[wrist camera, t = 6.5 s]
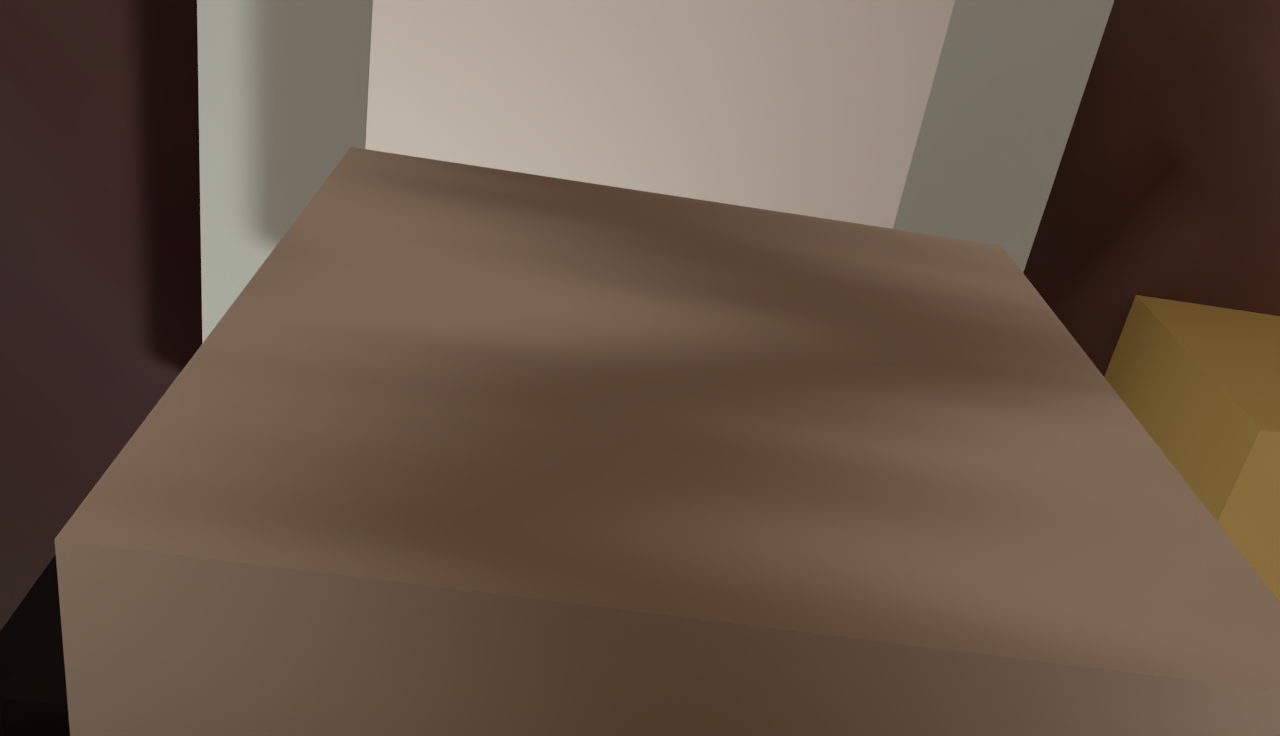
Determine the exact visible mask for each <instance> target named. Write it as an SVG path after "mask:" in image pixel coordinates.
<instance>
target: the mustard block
mask: <svg viewBox="0 0 1280 736" xmlns="http://www.w3.org/2000/svg"><path fill="white" fill-rule="evenodd" d="M1104 378H1105V379H1106V380H1107V381H1108V383H1109V384H1110V385H1111V387H1112V388H1113V389H1114V390H1115V392H1116V393H1117V394H1118V395H1119V397H1120V398H1121V399H1122V401H1123V402H1124V403H1125V404H1126V406H1127V407H1128V408H1129V410H1130V411H1131V412H1132V413H1133V415H1134V416H1135V417H1136V419H1137V420H1138V421H1139V422H1140V424H1141V425H1142V426H1143V428H1144V429H1145V430H1146V431H1147V433H1148V434H1149V435H1150V437H1151V438H1152V439H1153V440H1154V442H1155V443H1156V444H1157V446H1158V447H1159V448H1160V449H1161V451H1162V452H1163V453H1164V454H1165V456H1166V457H1167V458H1168V460H1169V461H1170V462H1171V463H1172V465H1173V466H1174V467H1175V469H1176V470H1177V471H1178V472H1179V474H1180V475H1181V476H1182V478H1183V479H1184V480H1185V481H1186V483H1187V484H1188V485H1189V487H1190V488H1191V489H1192V490H1193V492H1194V493H1195V494H1196V496H1197V497H1198V498H1199V499H1200V501H1201V502H1202V503H1203V504H1204V506H1205V507H1206V508H1207V510H1208V511H1209V512H1210V513H1211V515H1212V516H1213V517H1214V519H1215V520H1216V521H1217V522H1218V524H1219V525H1220V526H1221V528H1222V529H1223V530H1224V531H1225V533H1226V534H1227V535H1228V537H1229V538H1230V539H1231V540H1232V542H1233V543H1234V544H1235V546H1236V547H1237V548H1238V549H1239V551H1240V552H1241V553H1242V555H1243V556H1244V557H1245V558H1246V560H1247V561H1248V562H1249V563H1250V565H1251V566H1252V567H1253V569H1254V570H1255V571H1256V572H1257V574H1258V575H1259V576H1260V578H1261V579H1262V580H1263V581H1264V583H1265V584H1266V585H1267V587H1268V588H1269V589H1270V590H1271V592H1272V593H1273V594H1274V596H1275V597H1276V598H1277V599H1278V601H1279V602H1280V316H1276V315H1269V314H1262V313H1255V312H1249V311H1242V310H1235V309H1228V308H1222V307H1215V306H1208V305H1201V304H1194V303H1188V302H1181V301H1174V300H1167V299H1161V298H1154V297H1147V296H1140V295H1136V296H1135V298H1134V301H1133V304H1132V306H1131V309H1130V311H1129V314H1128V317H1127V319H1126V322H1125V324H1124V327H1123V329H1122V332H1121V335H1120V337H1119V340H1118V342H1117V345H1116V348H1115V350H1114V353H1113V355H1112V358H1111V361H1110V363H1109V366H1108V368H1107V371H1106V373H1105V376H1104Z"/></svg>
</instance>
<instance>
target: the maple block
mask: <svg viewBox="0 0 1280 736" xmlns="http://www.w3.org/2000/svg"><path fill="white" fill-rule="evenodd" d="M55 552H56V564H57V577H58V589H59V602H60V614H61V627H62V639H63V652H64V664H65V677H66V690H67V702H68V715H69V727H70V736H1280V602H1279V601H1278V599H1277V598H1276V597H1275V596H1274V594H1273V593H1272V592H1271V590H1270V589H1269V588H1268V587H1267V585H1266V584H1265V583H1264V581H1263V580H1262V579H1261V578H1260V576H1259V575H1258V574H1257V572H1256V571H1255V570H1254V569H1253V567H1252V566H1251V565H1250V563H1249V562H1248V561H1247V560H1246V558H1245V557H1244V556H1243V555H1242V553H1241V552H1240V551H1239V549H1238V548H1237V547H1236V546H1235V544H1234V543H1233V542H1232V540H1231V539H1230V538H1229V537H1228V535H1227V534H1226V533H1225V531H1224V530H1223V529H1222V528H1221V526H1220V525H1219V524H1218V522H1217V521H1216V520H1215V519H1214V517H1213V516H1212V515H1211V513H1210V512H1209V511H1208V510H1207V508H1206V507H1205V506H1204V504H1203V503H1202V502H1201V501H1200V499H1199V498H1198V497H1197V496H1196V494H1195V493H1194V492H1193V490H1192V489H1191V488H1190V487H1189V485H1188V484H1187V483H1186V481H1185V480H1184V479H1183V478H1182V476H1181V475H1180V474H1179V472H1178V471H1177V470H1176V469H1175V467H1174V466H1173V465H1172V463H1171V462H1170V461H1169V460H1168V458H1167V457H1166V456H1165V454H1164V453H1163V452H1162V451H1161V449H1160V448H1159V447H1158V446H1157V444H1156V443H1155V442H1154V440H1153V439H1152V438H1151V437H1150V435H1149V434H1148V433H1147V431H1146V430H1145V429H1144V428H1143V426H1142V425H1141V424H1140V422H1139V421H1138V420H1137V419H1136V417H1135V416H1134V415H1133V413H1132V412H1131V411H1130V410H1129V408H1128V407H1127V406H1126V404H1125V403H1124V402H1123V401H1122V399H1121V398H1120V397H1119V395H1118V394H1117V393H1116V392H1115V390H1114V389H1113V388H1112V387H1111V385H1110V384H1109V383H1108V381H1107V380H1106V379H1105V378H1104V376H1103V375H1102V374H1101V372H1100V371H1099V370H1098V369H1097V367H1096V366H1095V365H1094V363H1093V362H1092V361H1091V360H1090V358H1089V357H1088V356H1087V354H1086V353H1085V352H1084V351H1083V349H1082V348H1081V347H1080V345H1079V344H1078V343H1077V342H1076V340H1075V339H1074V338H1073V336H1072V335H1071V334H1070V333H1069V331H1068V330H1067V329H1066V328H1065V326H1064V325H1063V324H1062V322H1061V321H1060V320H1059V319H1058V317H1057V316H1056V315H1055V313H1054V312H1053V311H1052V310H1051V308H1050V307H1049V306H1048V304H1047V303H1046V302H1045V301H1044V299H1043V298H1042V297H1041V295H1040V294H1039V293H1038V292H1037V290H1036V289H1035V288H1034V286H1033V285H1032V284H1031V283H1030V281H1029V280H1028V279H1027V278H1026V276H1025V275H1024V274H1023V272H1022V271H1021V270H1020V269H1019V267H1018V266H1017V265H1016V263H1015V262H1014V261H1013V260H1012V258H1011V257H1010V256H1009V254H1008V253H1007V252H1006V251H1005V249H1004V248H1003V247H1002V245H997V244H990V243H984V242H977V241H970V240H964V239H957V238H950V237H944V236H937V235H931V234H924V233H917V232H911V231H904V230H897V229H891V228H884V227H878V226H871V225H864V224H858V223H851V222H844V221H838V220H831V219H825V218H818V217H811V216H805V215H798V214H791V213H785V212H778V211H772V210H765V209H758V208H752V207H745V206H739V205H732V204H725V203H719V202H712V201H705V200H699V199H692V198H686V197H679V196H672V195H666V194H659V193H652V192H646V191H639V190H633V189H626V188H619V187H613V186H606V185H599V184H593V183H586V182H580V181H573V180H566V179H560V178H553V177H546V176H540V175H533V174H527V173H520V172H513V171H507V170H500V169H493V168H487V167H480V166H474V165H467V164H460V163H454V162H447V161H440V160H434V159H427V158H421V157H414V156H407V155H401V154H394V153H387V152H381V151H374V150H368V149H361V148H354V147H351V148H350V149H349V150H348V152H347V153H346V154H345V156H344V157H343V158H342V159H341V161H340V162H339V163H338V165H337V166H336V167H335V169H334V170H333V171H332V173H331V174H330V175H329V177H328V178H327V179H326V181H325V182H324V183H323V185H322V186H321V187H320V189H319V190H318V191H317V193H316V194H315V195H314V197H313V198H312V199H311V201H310V202H309V203H308V205H307V206H306V207H305V208H304V210H303V211H302V212H301V214H300V215H299V216H298V218H297V219H296V220H295V222H294V223H293V224H292V226H291V227H290V228H289V230H288V231H287V232H286V234H285V235H284V236H283V238H282V239H281V240H280V242H279V243H278V244H277V246H276V247H275V248H274V250H273V251H272V252H271V254H270V255H269V256H268V257H267V259H266V260H265V261H264V263H263V264H262V265H261V267H260V268H259V269H258V271H257V272H256V273H255V275H254V276H253V277H252V279H251V280H250V281H249V283H248V284H247V285H246V287H245V288H244V289H243V291H242V292H241V293H240V295H239V296H238V297H237V299H236V300H235V301H234V302H233V304H232V305H231V306H230V308H229V309H228V310H227V312H226V313H225V314H224V316H223V317H222V318H221V320H220V321H219V322H218V324H217V325H216V326H215V328H214V329H213V330H212V332H211V333H210V334H209V336H208V337H207V338H206V340H205V341H204V342H203V344H202V345H201V346H200V348H199V349H198V350H197V351H196V353H195V354H194V355H193V357H192V358H191V359H190V361H189V362H188V363H187V365H186V366H185V367H184V369H183V370H182V371H181V373H180V374H179V375H178V377H177V378H176V379H175V381H174V382H173V383H172V385H171V386H170V387H169V389H168V390H167V391H166V393H165V394H164V395H163V397H162V398H161V399H160V400H159V402H158V403H157V404H156V406H155V407H154V408H153V410H152V411H151V412H150V414H149V415H148V416H147V418H146V419H145V420H144V422H143V423H142V424H141V426H140V427H139V428H138V430H137V431H136V432H135V434H134V435H133V436H132V438H131V439H130V440H129V442H128V443H127V444H126V446H125V447H124V448H123V449H122V451H121V452H120V453H119V455H118V456H117V457H116V459H115V460H114V461H113V463H112V464H111V465H110V467H109V468H108V469H107V471H106V472H105V473H104V475H103V476H102V477H101V479H100V480H99V481H98V483H97V484H96V485H95V487H94V488H93V489H92V491H91V492H90V493H89V495H88V496H87V497H86V498H85V500H84V501H83V502H82V504H81V505H80V506H79V508H78V509H77V510H76V512H75V513H74V514H73V516H72V517H71V518H70V520H69V521H68V522H67V524H66V525H65V526H64V528H63V529H62V530H61V532H60V533H59V534H58V536H57V537H56V538H55Z"/></svg>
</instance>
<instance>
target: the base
mask: <svg viewBox="0 0 1280 736" xmlns="http://www.w3.org/2000/svg"><path fill="white" fill-rule="evenodd" d="M1113 3H1114V0H197V33H198V96H199V160H200V223H201V286H202V344H203V342H204V341H205V340H206V338H207V337H208V336H209V334H210V333H211V332H212V330H213V329H214V328H215V326H216V325H217V324H218V322H219V321H220V320H221V318H222V317H223V316H224V314H225V313H226V312H227V310H228V309H229V308H230V306H231V305H232V304H233V302H234V301H235V300H236V299H237V297H238V296H239V295H240V293H241V292H242V291H243V289H244V288H245V287H246V285H247V284H248V283H249V281H250V280H251V279H252V277H253V276H254V275H255V273H256V272H257V271H258V269H259V268H260V267H261V265H262V264H263V263H264V261H265V260H266V259H267V257H268V256H269V255H270V254H271V252H272V251H273V250H274V248H275V247H276V246H277V244H278V243H279V242H280V240H281V239H282V238H283V236H284V235H285V234H286V232H287V231H288V230H289V228H290V227H291V226H292V224H293V223H294V222H295V220H296V219H297V218H298V216H299V215H300V214H301V212H302V211H303V210H304V208H305V207H306V206H307V205H308V203H309V202H310V201H311V199H312V198H313V197H314V195H315V194H316V193H317V191H318V190H319V189H320V187H321V186H322V185H323V183H324V182H325V181H326V179H327V178H328V177H329V175H330V174H331V173H332V171H333V170H334V169H335V167H336V166H337V165H338V163H339V162H340V161H341V159H342V158H343V157H344V156H345V154H346V153H347V152H348V150H349V149H350V148H351V147H354V148H361V149H368V150H374V151H381V152H387V153H394V154H401V155H407V156H414V157H421V158H427V159H434V160H440V161H447V162H454V163H460V164H467V165H474V166H480V167H487V168H493V169H500V170H507V171H513V172H520V173H527V174H533V175H540V176H546V177H553V178H560V179H566V180H573V181H580V182H586V183H593V184H599V185H606V186H613V187H619V188H626V189H633V190H639V191H646V192H652V193H659V194H666V195H672V196H679V197H686V198H692V199H699V200H705V201H712V202H719V203H725V204H732V205H739V206H745V207H752V208H758V209H765V210H772V211H778V212H785V213H791V214H798V215H805V216H811V217H818V218H825V219H831V220H838V221H844V222H851V223H858V224H864V225H871V226H878V227H884V228H891V229H897V230H904V231H911V232H917V233H924V234H931V235H937V236H944V237H950V238H957V239H964V240H970V241H977V242H984V243H990V244H997V245H1002V247H1003V248H1004V249H1005V251H1006V252H1007V253H1008V254H1009V256H1010V257H1011V258H1012V260H1013V261H1014V262H1015V263H1016V265H1017V266H1018V267H1019V269H1020V270H1021V271H1022V272H1024V269H1025V266H1026V263H1027V260H1028V257H1029V254H1030V251H1031V248H1032V245H1033V242H1034V239H1035V236H1036V233H1037V230H1038V227H1039V224H1040V221H1041V218H1042V215H1043V212H1044V209H1045V206H1046V203H1047V200H1048V197H1049V194H1050V191H1051V188H1052V185H1053V182H1054V179H1055V176H1056V173H1057V170H1058V167H1059V164H1060V161H1061V158H1062V155H1063V152H1064V149H1065V146H1066V144H1067V141H1068V138H1069V135H1070V132H1071V129H1072V126H1073V123H1074V120H1075V117H1076V114H1077V111H1078V108H1079V105H1080V102H1081V99H1082V96H1083V93H1084V90H1085V87H1086V84H1087V81H1088V78H1089V75H1090V72H1091V69H1092V66H1093V63H1094V60H1095V57H1096V54H1097V51H1098V48H1099V45H1100V42H1101V39H1102V36H1103V33H1104V30H1105V27H1106V24H1107V21H1108V18H1109V15H1110V12H1111V9H1112V6H1113Z"/></svg>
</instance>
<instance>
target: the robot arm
mask: <svg viewBox="0 0 1280 736" xmlns="http://www.w3.org/2000/svg"><path fill="white" fill-rule="evenodd" d="M0 736H70V727H69V715H68V702H67V690H66V677H65V664H64V652H63V639H62V627H61V614H60V602H59V589H58V577H57V564H56V555H55V556H54V557H53V559H52V560H51V562H50V563H49V564H48V566H47V567H46V569H45V570H44V571H43V573H42V574H41V576H40V577H39V578H38V580H37V581H36V583H35V584H34V585H33V587H32V588H31V590H30V591H29V592H28V594H27V595H26V597H25V598H24V599H23V601H22V602H21V604H20V605H19V606H18V608H17V609H16V610H15V612H14V613H13V615H12V616H11V617H10V619H9V620H8V622H7V623H6V624H5V626H4V627H3V629H2V630H1V631H0Z"/></svg>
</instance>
